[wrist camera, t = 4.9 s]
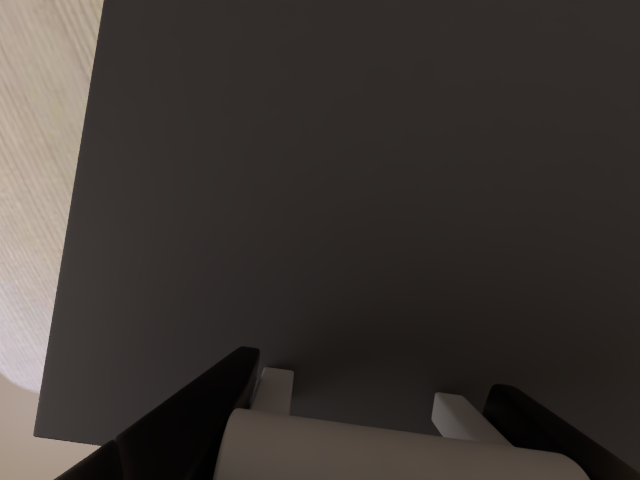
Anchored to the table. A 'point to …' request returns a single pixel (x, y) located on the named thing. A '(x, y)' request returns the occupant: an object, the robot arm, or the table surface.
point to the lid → (358, 230)
